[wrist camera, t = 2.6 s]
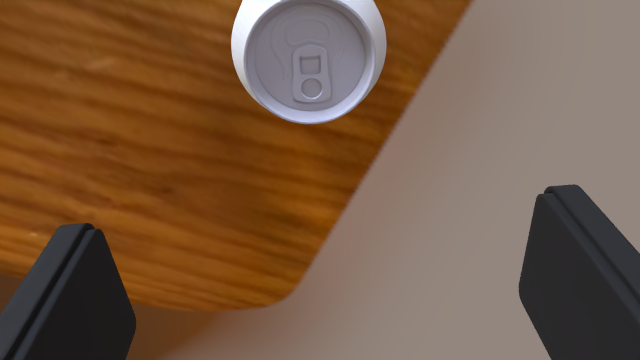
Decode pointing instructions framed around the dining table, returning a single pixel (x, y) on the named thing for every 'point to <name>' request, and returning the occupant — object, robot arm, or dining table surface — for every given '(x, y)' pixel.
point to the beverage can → (308, 55)
